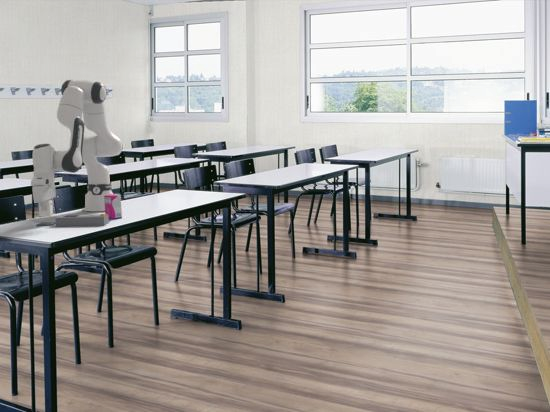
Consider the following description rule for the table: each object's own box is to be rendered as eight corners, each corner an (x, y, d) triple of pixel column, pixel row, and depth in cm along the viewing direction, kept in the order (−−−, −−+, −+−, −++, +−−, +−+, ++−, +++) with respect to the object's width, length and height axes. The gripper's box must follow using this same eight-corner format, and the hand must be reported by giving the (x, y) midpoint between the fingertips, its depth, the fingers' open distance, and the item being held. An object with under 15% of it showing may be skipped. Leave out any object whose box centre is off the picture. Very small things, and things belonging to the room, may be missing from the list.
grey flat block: (66, 220, 312) (65, 210, 312) (112, 220, 312) (112, 210, 312) (55, 226, 296) (54, 215, 296) (104, 225, 296) (103, 215, 296)
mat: (41, 223, 306) (41, 222, 306) (56, 223, 306) (56, 222, 306) (36, 225, 299) (36, 224, 299) (51, 225, 299) (51, 224, 299)
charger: (42, 215, 304) (41, 200, 303) (53, 215, 304) (52, 200, 303) (39, 216, 299) (38, 201, 298) (50, 216, 299) (49, 201, 298)
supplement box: (114, 217, 322) (113, 193, 321) (122, 218, 319) (121, 194, 317) (104, 218, 318) (103, 195, 316) (112, 219, 314) (111, 195, 313)
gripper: (44, 178, 310) (46, 207, 311) (29, 181, 289) (31, 213, 291) (58, 177, 310) (60, 206, 311) (43, 181, 289) (45, 212, 291)
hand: (46, 209), depth 301 cm, fingers closed on charger, 4 cm apart
